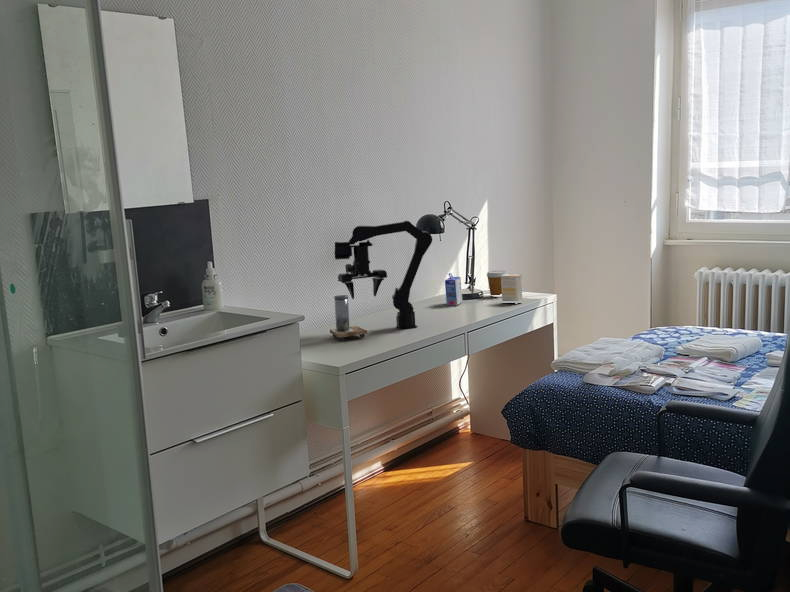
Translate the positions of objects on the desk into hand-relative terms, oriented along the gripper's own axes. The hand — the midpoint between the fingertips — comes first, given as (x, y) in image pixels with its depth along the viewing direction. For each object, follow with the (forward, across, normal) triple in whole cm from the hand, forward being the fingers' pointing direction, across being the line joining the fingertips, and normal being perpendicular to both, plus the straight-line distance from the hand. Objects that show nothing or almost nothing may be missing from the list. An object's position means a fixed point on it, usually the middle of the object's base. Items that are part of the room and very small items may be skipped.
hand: (363, 297), depth 298 cm
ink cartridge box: (+13, -55, -29) cm, 64 cm away
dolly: (+13, +11, +10) cm, 20 cm away
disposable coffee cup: (+13, -81, -34) cm, 89 cm away
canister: (+10, +13, +10) cm, 19 cm away
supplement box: (+13, -76, -13) cm, 78 cm away
